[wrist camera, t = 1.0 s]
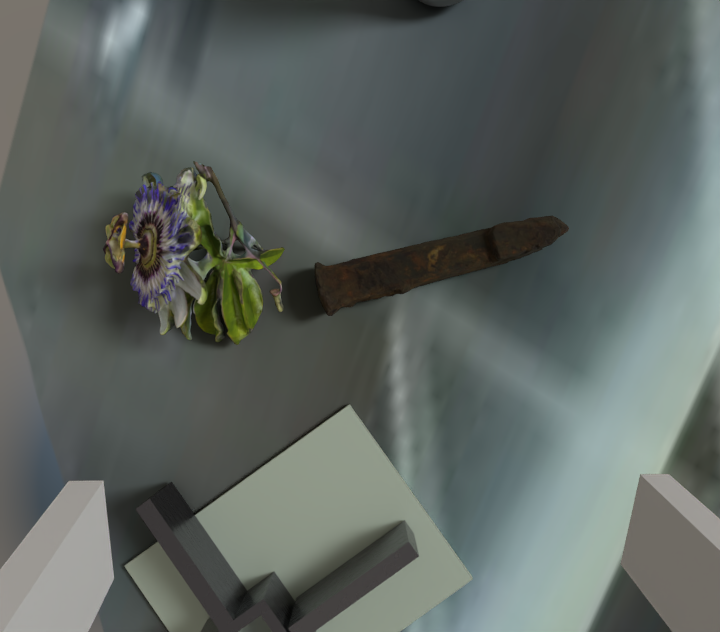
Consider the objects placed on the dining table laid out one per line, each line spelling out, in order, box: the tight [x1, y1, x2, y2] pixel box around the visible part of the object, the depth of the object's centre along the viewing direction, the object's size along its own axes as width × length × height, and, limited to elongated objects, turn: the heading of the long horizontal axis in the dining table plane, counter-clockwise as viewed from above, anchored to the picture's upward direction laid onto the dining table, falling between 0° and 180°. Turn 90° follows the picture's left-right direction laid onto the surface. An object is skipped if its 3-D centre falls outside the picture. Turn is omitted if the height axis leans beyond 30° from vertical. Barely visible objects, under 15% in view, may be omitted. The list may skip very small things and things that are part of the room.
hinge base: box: [136, 482, 316, 632], centre depth 37 cm, size 16×6×4 cm, turn 36°
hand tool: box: [315, 216, 569, 316], centre depth 38 cm, size 19×4×5 cm, turn 102°
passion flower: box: [103, 161, 285, 345], centre depth 37 cm, size 11×11×12 cm
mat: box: [124, 404, 473, 632], centre depth 39 cm, size 16×21×1 cm
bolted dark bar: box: [288, 520, 419, 632], centre depth 37 cm, size 1×10×4 cm, turn 125°
